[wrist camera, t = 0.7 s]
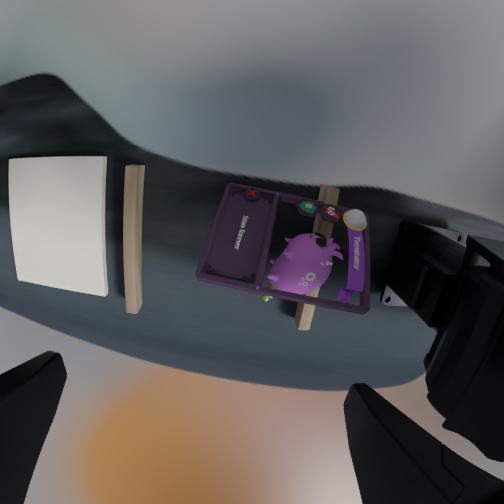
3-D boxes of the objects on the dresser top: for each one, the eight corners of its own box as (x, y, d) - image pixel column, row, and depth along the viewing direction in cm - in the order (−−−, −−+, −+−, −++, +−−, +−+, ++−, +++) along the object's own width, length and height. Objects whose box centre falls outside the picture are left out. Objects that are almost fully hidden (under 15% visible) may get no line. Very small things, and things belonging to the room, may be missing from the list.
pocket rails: (332, 186, 19) (339, 189, 17) (304, 319, 22) (308, 330, 21) (133, 164, 18) (125, 166, 16) (132, 302, 21) (126, 312, 19)
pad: (107, 156, 17) (103, 156, 17) (108, 292, 20) (105, 296, 20) (13, 158, 16) (9, 159, 16) (21, 276, 20) (18, 279, 19)
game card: (228, 173, 18) (372, 205, 17) (227, 225, 22) (346, 251, 21) (192, 268, 14) (375, 306, 13) (201, 309, 18) (340, 337, 18)
